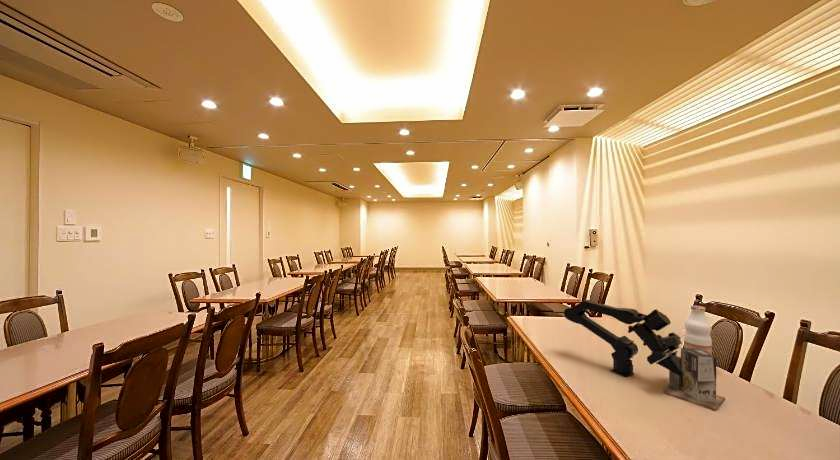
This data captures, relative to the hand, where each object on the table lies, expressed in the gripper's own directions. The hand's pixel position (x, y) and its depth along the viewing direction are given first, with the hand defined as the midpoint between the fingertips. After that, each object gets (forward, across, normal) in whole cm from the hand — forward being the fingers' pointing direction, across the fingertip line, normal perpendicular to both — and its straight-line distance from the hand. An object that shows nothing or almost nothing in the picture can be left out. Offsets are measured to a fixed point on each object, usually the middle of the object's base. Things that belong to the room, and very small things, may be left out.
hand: (681, 373), depth 122 cm
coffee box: (+8, 0, +1) cm, 8 cm away
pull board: (+8, 0, +2) cm, 8 cm away
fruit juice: (+4, +32, +7) cm, 33 cm away
